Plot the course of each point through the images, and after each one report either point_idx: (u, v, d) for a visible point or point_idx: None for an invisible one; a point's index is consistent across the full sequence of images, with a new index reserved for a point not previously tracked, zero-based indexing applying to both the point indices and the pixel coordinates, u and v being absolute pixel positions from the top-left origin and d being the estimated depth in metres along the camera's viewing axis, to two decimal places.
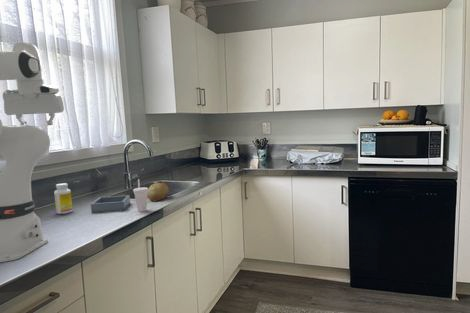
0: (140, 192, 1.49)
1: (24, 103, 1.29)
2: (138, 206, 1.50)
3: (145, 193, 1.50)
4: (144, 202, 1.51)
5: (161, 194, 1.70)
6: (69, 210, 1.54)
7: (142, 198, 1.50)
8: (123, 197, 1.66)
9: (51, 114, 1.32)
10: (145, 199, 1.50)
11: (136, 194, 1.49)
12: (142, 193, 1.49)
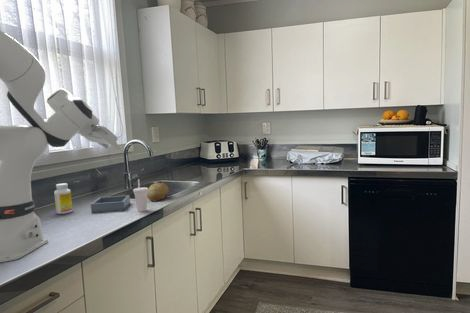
0: (140, 192, 1.49)
1: None
2: (138, 206, 1.50)
3: (145, 193, 1.50)
4: (144, 202, 1.51)
5: (161, 194, 1.70)
6: (69, 210, 1.54)
7: (142, 198, 1.50)
8: (123, 197, 1.66)
9: None
10: (145, 199, 1.50)
11: (136, 194, 1.49)
12: (142, 193, 1.49)
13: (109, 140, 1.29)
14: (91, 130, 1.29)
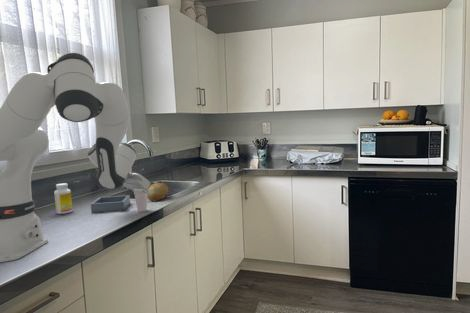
0: (140, 192, 1.49)
1: None
2: (138, 206, 1.50)
3: (145, 193, 1.50)
4: (144, 202, 1.51)
5: (161, 194, 1.70)
6: (69, 210, 1.54)
7: (142, 198, 1.50)
8: (123, 197, 1.66)
9: None
10: (145, 199, 1.50)
11: (136, 194, 1.49)
12: (142, 193, 1.49)
13: (144, 186, 1.41)
14: (126, 178, 1.41)
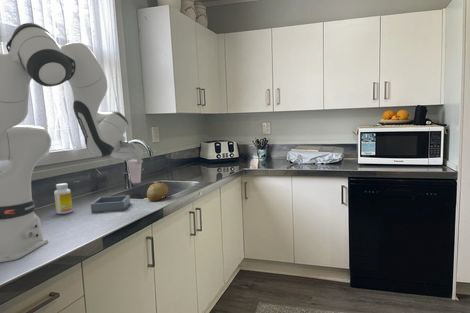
0: (134, 163, 1.48)
1: None
2: (132, 178, 1.50)
3: (139, 165, 1.50)
4: (138, 174, 1.50)
5: (161, 194, 1.70)
6: (69, 210, 1.54)
7: (136, 170, 1.49)
8: (123, 197, 1.66)
9: None
10: (138, 171, 1.50)
11: (130, 165, 1.49)
12: (136, 164, 1.49)
13: (137, 154, 1.40)
14: (119, 146, 1.41)
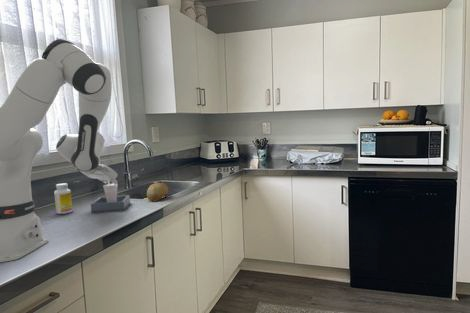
0: (109, 188, 1.56)
1: None
2: (108, 201, 1.57)
3: (114, 189, 1.57)
4: (113, 197, 1.58)
5: (160, 194, 1.70)
6: (69, 210, 1.54)
7: (111, 194, 1.57)
8: (123, 197, 1.66)
9: None
10: (114, 194, 1.58)
11: (106, 190, 1.57)
12: (111, 189, 1.56)
13: (111, 177, 1.48)
14: (94, 169, 1.48)
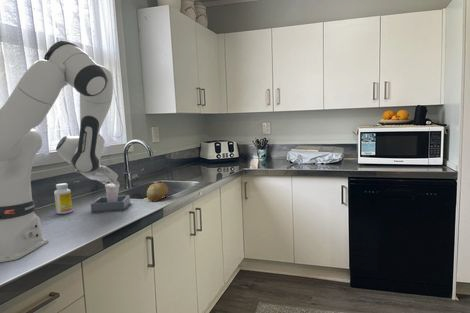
0: (111, 188, 1.55)
1: None
2: (108, 201, 1.57)
3: (116, 189, 1.57)
4: (114, 198, 1.57)
5: (160, 194, 1.70)
6: (69, 210, 1.54)
7: (112, 194, 1.56)
8: (123, 197, 1.66)
9: None
10: (115, 195, 1.57)
11: (107, 190, 1.56)
12: (113, 189, 1.56)
13: (111, 178, 1.48)
14: (94, 170, 1.48)
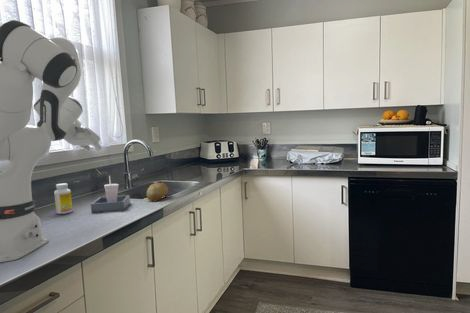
0: (110, 187, 1.56)
1: None
2: (108, 201, 1.58)
3: (115, 189, 1.58)
4: (114, 197, 1.58)
5: (160, 194, 1.70)
6: (69, 210, 1.54)
7: (112, 193, 1.57)
8: (123, 197, 1.66)
9: None
10: (115, 194, 1.58)
11: (106, 189, 1.57)
12: (112, 188, 1.57)
13: (93, 140, 1.41)
14: (75, 132, 1.41)
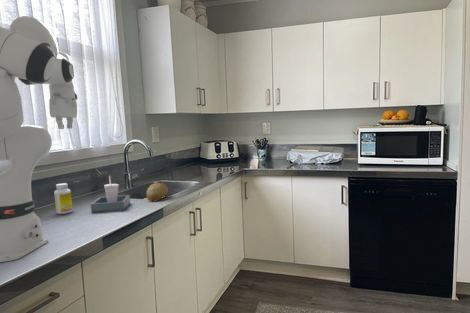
0: (111, 188, 1.56)
1: (65, 107, 1.37)
2: (108, 201, 1.57)
3: (115, 189, 1.58)
4: (114, 197, 1.58)
5: (160, 194, 1.70)
6: (69, 210, 1.54)
7: (112, 194, 1.57)
8: (123, 197, 1.66)
9: (72, 118, 1.46)
10: (115, 195, 1.58)
11: (107, 190, 1.56)
12: (112, 189, 1.56)
13: (50, 110, 1.30)
14: None
